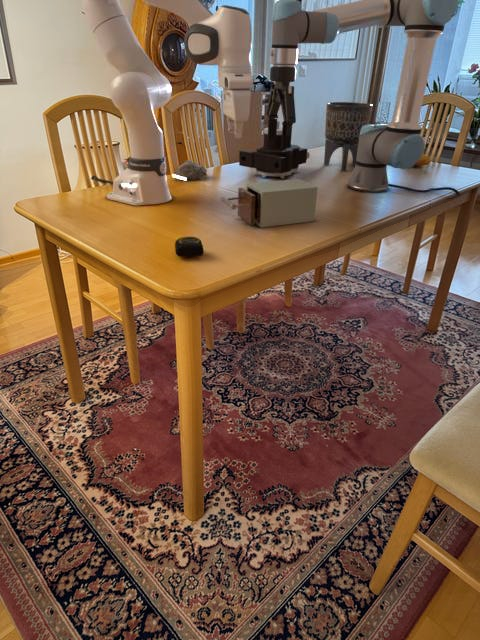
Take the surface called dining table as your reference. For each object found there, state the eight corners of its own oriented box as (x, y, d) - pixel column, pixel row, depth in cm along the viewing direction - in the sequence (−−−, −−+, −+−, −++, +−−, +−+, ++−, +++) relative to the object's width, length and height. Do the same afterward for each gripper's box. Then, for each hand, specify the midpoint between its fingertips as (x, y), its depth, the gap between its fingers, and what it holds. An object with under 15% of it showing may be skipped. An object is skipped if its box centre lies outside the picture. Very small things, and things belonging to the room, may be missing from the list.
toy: (405, 159, 210) (400, 152, 223) (408, 173, 213) (402, 165, 226) (431, 151, 207) (424, 145, 219) (433, 165, 210) (426, 158, 222)
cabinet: (260, 227, 134) (262, 192, 129) (245, 216, 142) (246, 183, 137) (314, 220, 140) (317, 187, 135) (296, 211, 149) (299, 178, 144)
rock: (199, 173, 191) (199, 157, 188) (212, 178, 186) (211, 161, 182) (172, 178, 184) (171, 161, 180) (185, 183, 178) (184, 165, 175)
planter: (313, 167, 208) (319, 103, 195) (331, 160, 222) (338, 101, 209) (353, 173, 199) (362, 107, 185) (369, 166, 213) (379, 104, 199)
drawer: (231, 227, 131) (232, 197, 126) (219, 217, 138) (219, 189, 134) (301, 218, 139) (304, 190, 134) (286, 210, 146) (288, 183, 142)
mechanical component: (240, 120, 182) (283, 115, 202) (239, 174, 192) (280, 164, 212) (283, 126, 170) (325, 120, 190) (280, 183, 180) (320, 171, 200)
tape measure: (175, 260, 111) (175, 246, 109) (175, 250, 116) (174, 236, 115) (203, 259, 112) (203, 245, 110) (201, 249, 117) (201, 235, 116)
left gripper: (217, 78, 128) (218, 131, 135) (229, 81, 111) (230, 141, 118) (238, 78, 129) (238, 130, 136) (254, 81, 112) (253, 140, 119)
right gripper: (258, 64, 140) (255, 138, 150) (285, 66, 119) (280, 151, 129) (281, 65, 141) (277, 137, 152) (312, 67, 120) (304, 151, 131)
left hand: (234, 135), depth 127 cm, fingers open, 8 cm apart
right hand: (278, 144), depth 141 cm, fingers open, 13 cm apart
